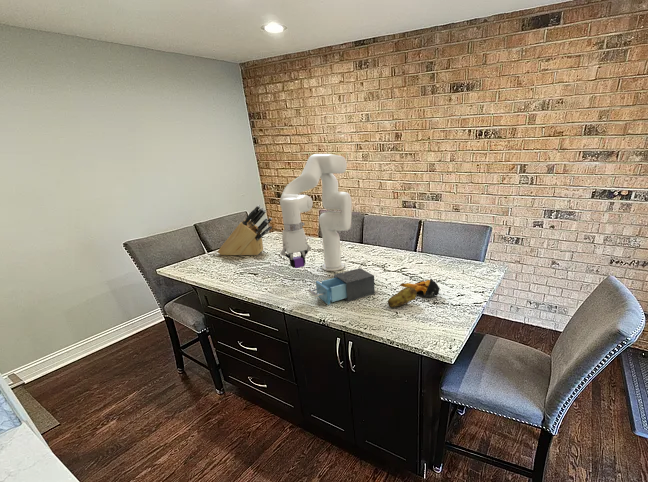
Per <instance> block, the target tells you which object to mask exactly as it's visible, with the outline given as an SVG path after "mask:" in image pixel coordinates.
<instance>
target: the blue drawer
mask: <svg viewBox="0 0 648 482" xmlns="http://www.w3.org/2000/svg"><path fill="white" fill-rule="evenodd" d="M308 293H309V294H311V295H312V296H313V297H314V298H319V299H320V300H321V301H322V302H324V303H325V304H326V305H331V302H332V303H333V302H338V301H341V300H345V299H344V298H347V293H346V284H345V283H344V282H342V281H341V280H339V279H337V278H334V277H333V278H328V279H324V280H321V281H319V280H315V288H313V289H311V288H310V289H308Z"/></svg>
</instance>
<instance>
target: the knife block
mask: <svg viewBox="0 0 648 482" xmlns="http://www.w3.org/2000/svg"><path fill="white" fill-rule="evenodd" d="M266 213H267V210H266V209H264V207H261V205H260V204H257V205H256V206H255V208H254V209H253V210H251V211H250V212H249V214H248V215H247V216H246V218H245V219H244V220H243V221H241V222H240V223H239V224H238V225H237V226H236V227H235V228H234V230H233V231H232V233H231V234H230V235H229V236H228V238H227V239H226V240H225V241H224V242H223V243H222V245H221V246H220V247H219V249H218V250H217V253H218V254H219V255H220V256H259V254H261V252H263V251H264V243H263V237H264V236H265V235H267V233H268V232H270V231H271V230H272V229H273V226H272V225H271V226H268V225H269V223H270V222H272V220H273V218H272V217H269V218H265V219H263V221H262V222H261V223H260V224H259V226H258V225H257V223H258V222H259V221H260V220H261V219H262V218H263V217H264V215H265V214H266ZM267 226H268V227H267ZM265 228H266V229H265ZM264 229H265V230H264Z"/></svg>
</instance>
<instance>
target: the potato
mask: <svg viewBox="0 0 648 482" xmlns="http://www.w3.org/2000/svg"><path fill="white" fill-rule="evenodd" d="M416 294H417V292H416V290H415V289H414V288H412V287H403V288H402V289H401V290H400V291H398V292H397V293H396V294H394V295H392V296H391V297H390V298H388V300H387V305H388V306H389V307H390V308H396V307H402V306H404V305H407V304H409V303H410V302H413V301H415V300H416V298H417V295H416Z"/></svg>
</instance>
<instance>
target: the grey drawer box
mask: <svg viewBox="0 0 648 482" xmlns="http://www.w3.org/2000/svg"><path fill="white" fill-rule="evenodd" d="M333 278H337V279H339V280H341V281H342V282H344V283H345V284H346V293H347V298H344V299H343V300H345V301H346V302H350V301H354V300H357V299H361V298H363V297H367V296H370V295H374V294H375V292H376V291H375V275H374V274H373V273H370V272H368V271H367V270H365V269H363V268H360V267H359V268H355V269H351V270H346V271H343V272H339V273H334V274H333Z"/></svg>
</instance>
